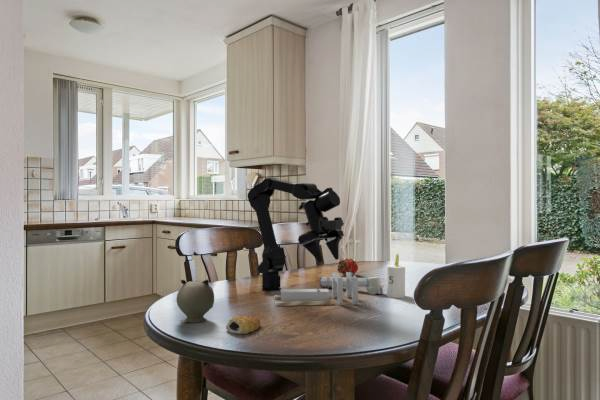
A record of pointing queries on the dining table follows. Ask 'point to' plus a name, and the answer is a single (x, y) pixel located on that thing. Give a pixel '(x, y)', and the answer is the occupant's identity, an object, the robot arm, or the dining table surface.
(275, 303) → the guide rails
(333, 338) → the dining table surface
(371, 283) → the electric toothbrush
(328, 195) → the robot arm
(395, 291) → the candle
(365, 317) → the dining table surface
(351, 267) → the dragon fruit
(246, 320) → the pastry
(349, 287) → the slotted u bracket
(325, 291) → the gray rectangular bar
